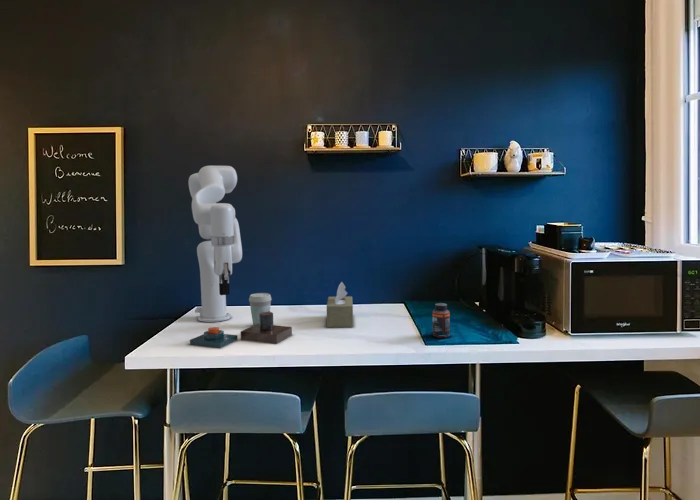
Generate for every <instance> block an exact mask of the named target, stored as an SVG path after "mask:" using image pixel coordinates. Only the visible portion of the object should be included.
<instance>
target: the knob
mask: <svg viewBox="0 0 700 500" xmlns="http://www.w3.org/2000/svg"><path fill="white" fill-rule="evenodd" d="M259 325H260V330H262V331H268V330H272V329H274V326H273V325H274V312H272V311H271V310H270V311H268V312H262V313H259Z"/></svg>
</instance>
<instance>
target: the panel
mask: <svg viewBox="0 0 700 500" xmlns="http://www.w3.org/2000/svg"><path fill="white" fill-rule="evenodd" d="M273 326H274V329H272V330H268V331H262V330H260V325H259V324H256V325H254V326H253V325H251V326H249V327H247V328H245V329H242V330H241V331H240V340H241V341H249V342H257V343H267V344H279V343H281V342H282V341H284V340H286V339H288V338H289V337H291V336H293V327H292V326H287V325H286V326H285V325H277V324H276V325H275V324H273Z"/></svg>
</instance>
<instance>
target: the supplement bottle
mask: <svg viewBox="0 0 700 500" xmlns="http://www.w3.org/2000/svg"><path fill="white" fill-rule="evenodd" d="M450 315H451V313H450V310H449V309H448V304H447V303H443V302H438V303H437V302H436V303H435V304H434V309H433V310H432V336H433V337H434V338H438V339H446V338H448V337H450V335H451V316H450ZM449 333H450V334H449ZM434 334H435V335H434ZM447 334H449V335H447ZM439 335H446V336H439Z"/></svg>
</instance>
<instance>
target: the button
mask: <svg viewBox="0 0 700 500" xmlns="http://www.w3.org/2000/svg"><path fill="white" fill-rule="evenodd" d="M219 330H220V327H218V326H211V327H209V328H207V331H208V334H217V333H219Z"/></svg>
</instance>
